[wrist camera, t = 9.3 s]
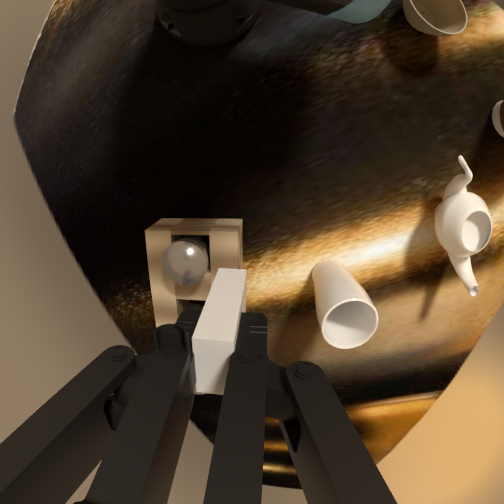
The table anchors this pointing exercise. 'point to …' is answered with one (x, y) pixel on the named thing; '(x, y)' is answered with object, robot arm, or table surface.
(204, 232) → the mount
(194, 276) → the knob
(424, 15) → the white tapered round container
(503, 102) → the coffee cup
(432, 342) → the table surface
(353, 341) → the drinking glass
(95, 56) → the table surface
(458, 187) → the teapot
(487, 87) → the table surface
